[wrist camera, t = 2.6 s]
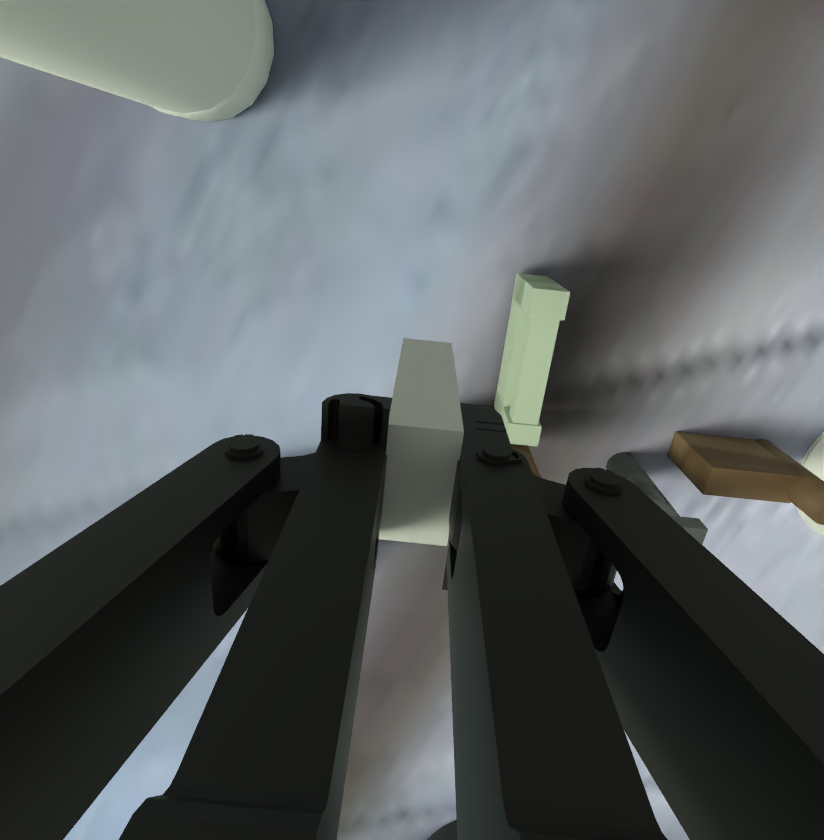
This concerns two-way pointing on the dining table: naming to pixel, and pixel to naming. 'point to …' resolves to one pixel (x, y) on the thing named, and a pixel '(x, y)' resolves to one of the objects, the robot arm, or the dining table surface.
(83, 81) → the bottle
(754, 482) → the fence far side
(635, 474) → the post
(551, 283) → the gate
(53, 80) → the dining table surface
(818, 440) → the cream upright rounded piece
